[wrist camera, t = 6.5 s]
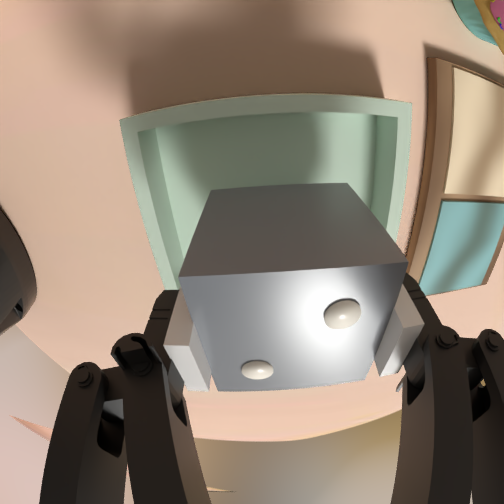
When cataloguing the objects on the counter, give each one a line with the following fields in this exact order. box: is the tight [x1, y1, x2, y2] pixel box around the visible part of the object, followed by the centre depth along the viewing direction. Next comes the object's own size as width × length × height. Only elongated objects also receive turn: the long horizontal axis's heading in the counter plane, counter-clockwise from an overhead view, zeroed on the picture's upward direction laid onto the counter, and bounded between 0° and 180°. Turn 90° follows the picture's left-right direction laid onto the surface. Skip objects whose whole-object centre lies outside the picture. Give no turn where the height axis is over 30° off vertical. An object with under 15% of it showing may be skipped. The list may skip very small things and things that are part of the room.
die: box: [178, 183, 409, 391], centre depth 11 cm, size 6×6×6 cm
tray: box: [120, 93, 412, 290], centre depth 15 cm, size 14×14×3 cm
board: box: [406, 58, 504, 296], centre depth 15 cm, size 11×18×1 cm, turn 5°
